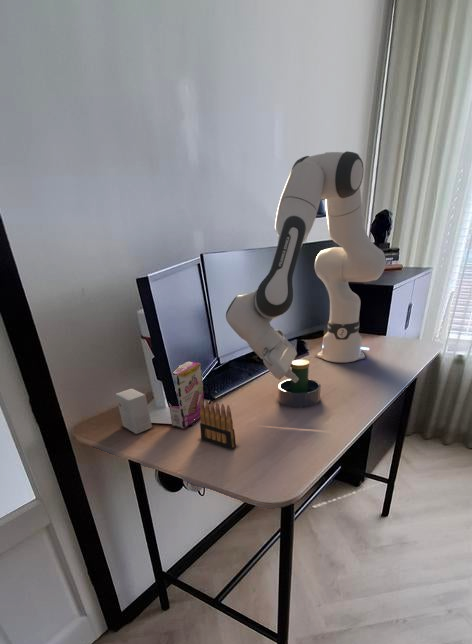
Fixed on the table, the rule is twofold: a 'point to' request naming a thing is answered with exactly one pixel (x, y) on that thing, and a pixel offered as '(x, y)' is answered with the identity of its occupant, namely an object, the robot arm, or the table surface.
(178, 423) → the candy bar box
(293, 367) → the tea tin
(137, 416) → the small box
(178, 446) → the table surface
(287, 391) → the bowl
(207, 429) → the ammunition clip
